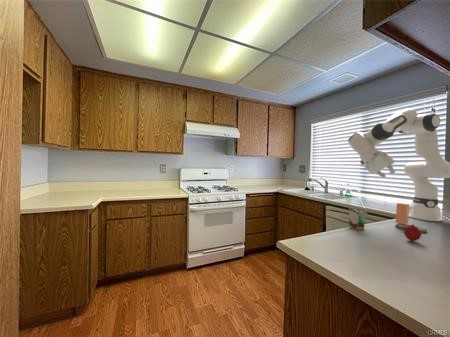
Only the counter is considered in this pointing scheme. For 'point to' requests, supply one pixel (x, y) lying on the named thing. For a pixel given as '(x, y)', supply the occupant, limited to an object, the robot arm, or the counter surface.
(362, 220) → the food container
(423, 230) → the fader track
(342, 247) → the counter surface
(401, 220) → the orange rectangular block
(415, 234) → the onion
